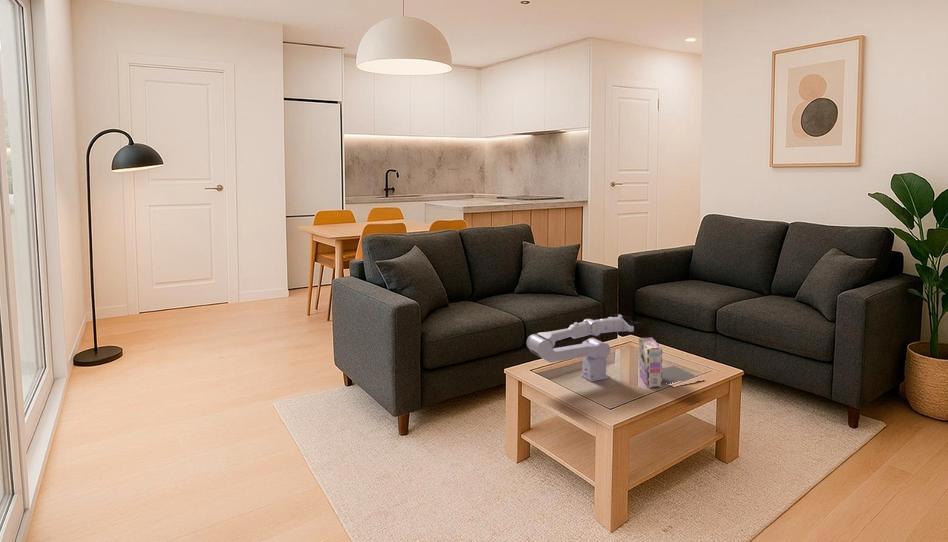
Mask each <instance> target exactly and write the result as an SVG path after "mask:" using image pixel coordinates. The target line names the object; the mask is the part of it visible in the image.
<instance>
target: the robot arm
mask: <svg viewBox="0 0 948 542" xmlns="http://www.w3.org/2000/svg"><path fill="white" fill-rule="evenodd" d="M643 326H644V322H643V321H634V320H632V317H631V316H625V315H624V316H623V315H622V314H619V313H618V314H617V313H615V314H614V315H613V316H608V317H607V318H600V319H592V318H585V319H583V321H581V322H577V321H576V322H573V324H570V325H569V327H568V328H563V329H557V330H552V331H551V330H550V331H543V332H542V331H541V332H537V333H533V334H531V335H529V336H528V337H527V339H526V347H527V348H528V349H529V351H530V352H531V353H533V354H534V355H536V356H538V357H539V358H541V359H543V360H544V361H546V362H548V363H557V362H561V361H568V360H572V359H579V358H583V357H584V358H583V359H582V360H581V374H580V376H581V377H583V378H584V379H586V380H588V381H589V382H596V381H601V380H607V379H610V378H611V376H610V375H608V374H607V358H608V357H609V355H610V353H611V346H610V345H609V343H606V342H603V341H601V340H598V339H597V338H595V337H598V336H600V335H601V334H606V333H607V334H608V333H613V332H614V333H615V332H616V333H617V332H627V334H629V335H633V334H634V333H636V331H637V330H640V329H642V328H643ZM590 335H591V336H595V337H590V338H588V339H586V340H584V341H582V343H578V344H572V345H566V346H561V347H555V344H556V342H558V341H562V340H564V339H567V338H572V339H573V340H574V339H575V340H576V339H579V338H583V337H586V336H587V337H588V336H590Z"/></svg>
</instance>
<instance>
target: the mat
mask: <svg viewBox="0 0 948 542" xmlns="http://www.w3.org/2000/svg"><path fill="white" fill-rule="evenodd" d="M695 377H699V376H698V375H695V374H694V373H691V372H689V371H687V370H684V369H682V368H680V367H677V366H676V365H672V366H668V367H662V384H663V383H664V384H665V383H667V384H670V383H671V384H672V382H673V383H675V382H678V381H686V380H689V379H692V378H695ZM667 384H666V385H667Z"/></svg>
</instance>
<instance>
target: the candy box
mask: <svg viewBox="0 0 948 542" xmlns="http://www.w3.org/2000/svg"><path fill="white" fill-rule="evenodd" d="M638 356H639V357H638V360H639V362H638V363H639V367H638V368H639V377H640V378H641V380H642V381H643V383H644V384H645V385H646V387H647V388H649V389H650V388H651V389H652V388H662V387H663V382H662V368H663V347H661V345H659V344H658V342H657V341H656V339H655V338H654V337H652V336H651V337H639V338H638Z"/></svg>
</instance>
